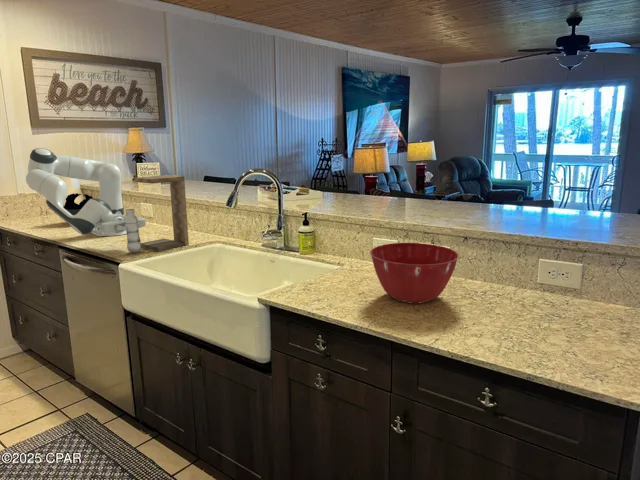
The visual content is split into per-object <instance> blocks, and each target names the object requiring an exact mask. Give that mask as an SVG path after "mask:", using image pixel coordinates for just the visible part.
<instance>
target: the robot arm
mask: <svg viewBox="0 0 640 480" xmlns="http://www.w3.org/2000/svg"><path fill="white" fill-rule="evenodd" d="M58 176H59V177H58ZM60 177H63V178H69V179H76V180H77V179H78V180H83V181H84V180H85V181H92V182H93V181H95V182H99V183H98V184H99V198H96V197H93V198H91V199H90V200H89V201H88V202H87V203H86V204H85V205H84V207H83V208H82V209H81V210H80V211H79V212H78V213H77V214H76V215H72V214H70V213H69V212H68V211H67V210H66V209H64V208H63V207H64V205H65V202H66V198H67V196H68V185H67V183H66V182H65V181H64V180H63V179H62V178H60ZM25 182H26V184H27V185H28V187H29V188H30V189H32V190H33V191H35V192H37V193H38V194H40V195H42V196H43V197H44V198H45V204H46V205H47V207H49V209H50V210H51V211H53V212H54V213H55V214H56V215H57V216H58V217H59V218H61V219H62V220H63V221H64V222H66V223H67V224H68V225H70V227H71V228H72V229H73V230H74V231H75V233H76V232H77V233H78V234H80V235H82V236H83V235H89V234H93V235H94V236H97V237H112V236H113V237H114V236H121V235H122V236H123V235H127V233H126V230H127V226H125V225H124V219H125V217H126V215H127V214H125V210H124V206H123V198H122V172H121V170H120V168H119V166H117V165H116V164H114V163H112V162H106V161H101V160H95V159H88V158H82V157H77V156H71V155H63V154H62V155H61V154H55V153H53V152H52V151H51V150H49V149H47V148H44V147H37V148H34V149H31V152H30V154H29V160H28V166H27V174H26V175H25ZM136 217H137V218H138V220H139V222H138V223H139V229H141V228H143V227H146V226H147V225H146V224H147V222H146V219H145V217H144V218H143V217H141V216H136Z"/></svg>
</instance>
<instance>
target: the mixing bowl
mask: <svg viewBox="0 0 640 480" xmlns="http://www.w3.org/2000/svg"><path fill="white" fill-rule="evenodd" d="M369 254H370V256H371V259H372V264H373V268H374V271H375V274H376V277H377V278H378V280H379V283H380V285H381V287H382V288H383V290H384V292H385V293H386V294H387V295H388V296H390V297H392V298H393V299H394V298H395V299H397V300H396V301H398V300H400V301H404V302H403V303H405V302H412V303H411V304H420V303H419V302H426V301H429V302H431V301H433V300H434V299H436V298H438V297H439V296H440V295H441V294H442V293H443V292H444V291H445V288H446V286H447V285H448V284H449V281H450V279H451V277H452V275H453V272H454V270H455V267H456V263H457V262H458V259H459V257H460V255H459V253H458V252H457V251H455V250H454V249H452V248H450V247H445V246H443V245H437V244H431V243H430V244H429V243H420V242H394V243H387V244H386V243H385V244H381V245H378V246H375V247H373V248H371V249H370V252H369ZM395 299H394V300H395ZM430 300H431V301H430ZM400 301H399V302H400ZM426 303H427V302H426Z"/></svg>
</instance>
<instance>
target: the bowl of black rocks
mask: <svg viewBox="0 0 640 480" xmlns="http://www.w3.org/2000/svg"><path fill="white" fill-rule="evenodd" d="M81 195H82V193H77V192H76V193H70V194H67V196H66V198H65V201H64V204H63V208H64V209H66V210H67V211H68V212H69V213H70V214H72V215H76V214H77V213H78V212H79V211H80V210H81V209H82V208H83V207H84V205H85V204H86V203H87V202H88V201H89V200H90V199H91V198H94V197H93V196H91V195H88V194H86V193H84V194H83V197H84V198H85V199H82V200H81V201H80V202H79V203H77V202H75V200H76V199H77V198H78V197H79V196H81Z"/></svg>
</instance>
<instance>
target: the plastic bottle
mask: <svg viewBox="0 0 640 480" xmlns="http://www.w3.org/2000/svg"><path fill="white" fill-rule="evenodd" d="M125 215H126V217H125V219H124V225H125V226H127V230H126V239H127V242H126V244H127V245H126V247H127V252H129V253H135V254H136V253H139V252H141V251H142V250H143V248H142V244H141V243H142V241H141V238H140V233H139V231H140V230H139V229H140V228H139V223H138V222H139V220H138V218H137V217H138V216H136V215H135V209H134V208H128V209H125Z"/></svg>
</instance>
